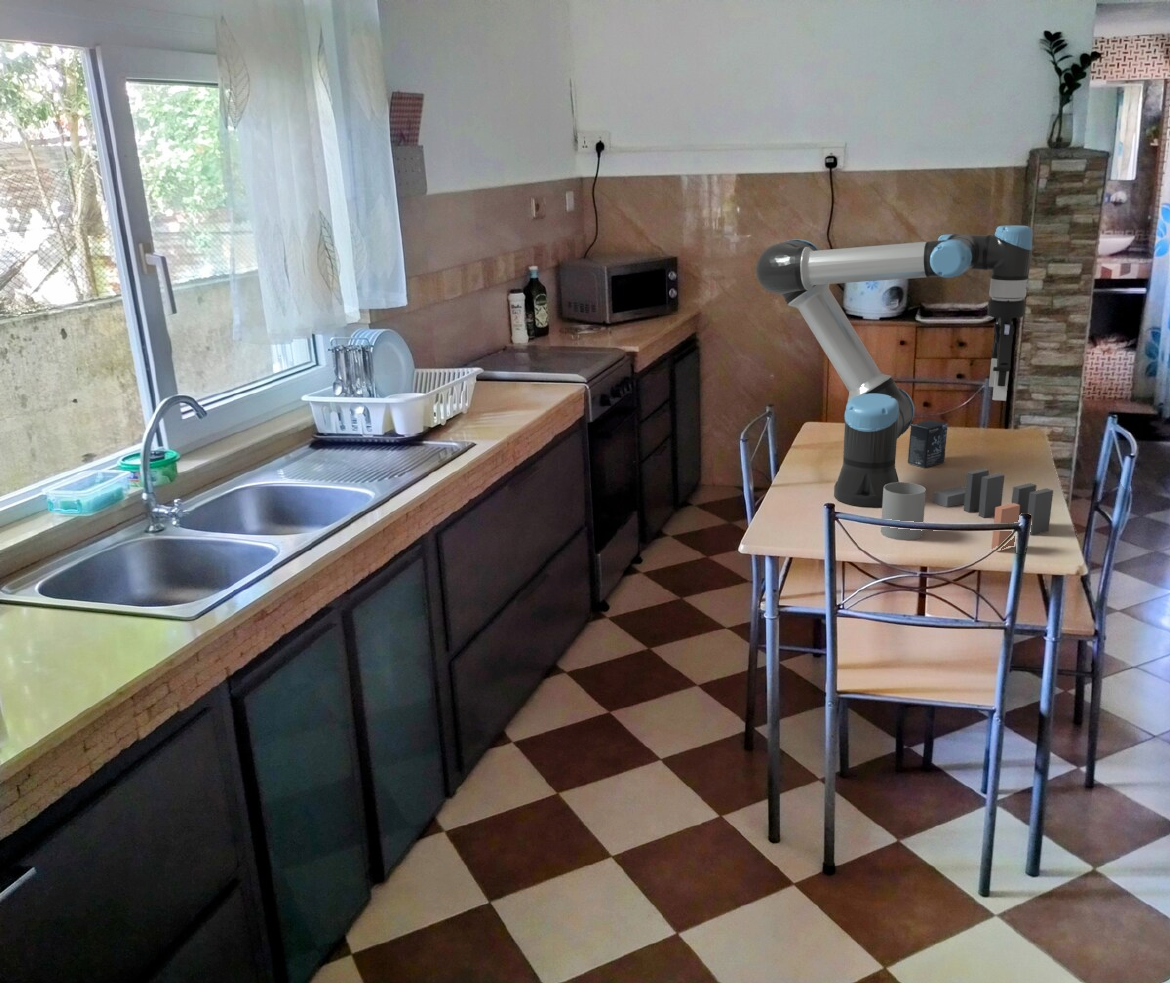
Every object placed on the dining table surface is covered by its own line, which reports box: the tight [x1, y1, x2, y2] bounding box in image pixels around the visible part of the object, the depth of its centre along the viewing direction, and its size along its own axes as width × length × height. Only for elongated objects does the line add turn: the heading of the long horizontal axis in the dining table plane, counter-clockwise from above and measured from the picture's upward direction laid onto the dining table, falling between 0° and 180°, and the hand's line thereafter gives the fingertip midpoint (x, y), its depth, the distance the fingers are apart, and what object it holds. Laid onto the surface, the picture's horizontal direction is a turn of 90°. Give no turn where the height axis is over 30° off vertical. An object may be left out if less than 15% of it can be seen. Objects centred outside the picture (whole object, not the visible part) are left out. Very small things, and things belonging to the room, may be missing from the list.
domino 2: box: [977, 472, 1005, 519], centre depth 220 cm, size 5×2×9 cm, turn 116°
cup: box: [880, 481, 927, 541], centre depth 211 cm, size 8×8×10 cm
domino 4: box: [1011, 482, 1037, 515], centre depth 213 cm, size 5×2×9 cm, turn 116°
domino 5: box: [1028, 488, 1054, 536], centre depth 209 cm, size 5×2×9 cm, turn 116°
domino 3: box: [990, 502, 1020, 552], centre depth 201 cm, size 5×2×9 cm, turn 116°
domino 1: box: [963, 468, 990, 513], centre depth 224 cm, size 5×2×9 cm, turn 116°
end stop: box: [933, 485, 966, 508], centre depth 230 cm, size 8×4×2 cm, turn 116°
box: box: [907, 419, 949, 469], centre depth 258 cm, size 8×6×11 cm
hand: (997, 393), depth 228 cm, fingers open, 13 cm apart
